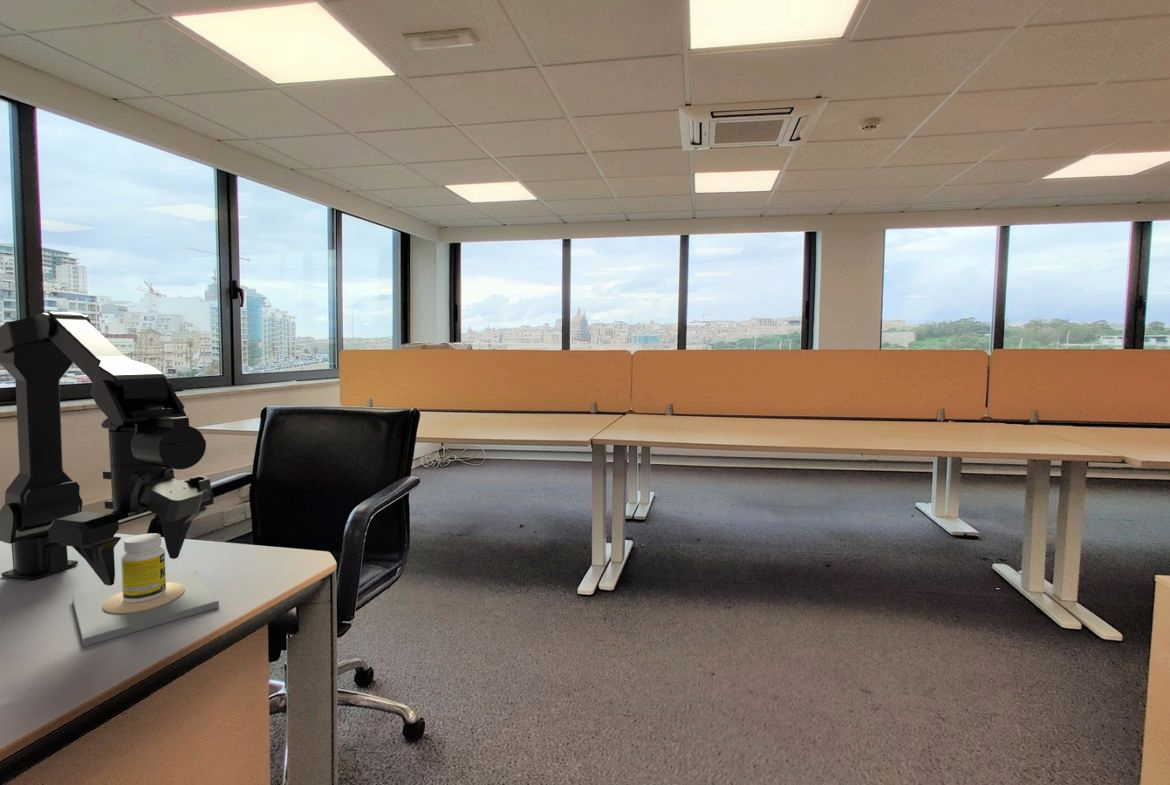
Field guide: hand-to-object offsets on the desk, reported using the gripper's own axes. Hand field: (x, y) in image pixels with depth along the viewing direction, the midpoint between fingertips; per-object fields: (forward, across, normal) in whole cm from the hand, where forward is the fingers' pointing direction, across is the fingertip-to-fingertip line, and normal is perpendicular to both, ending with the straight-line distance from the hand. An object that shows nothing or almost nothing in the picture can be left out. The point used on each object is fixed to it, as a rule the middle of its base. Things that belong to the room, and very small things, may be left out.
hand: (143, 570), depth 75 cm
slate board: (+5, 0, 0) cm, 5 cm away
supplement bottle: (+4, 0, 0) cm, 4 cm away
